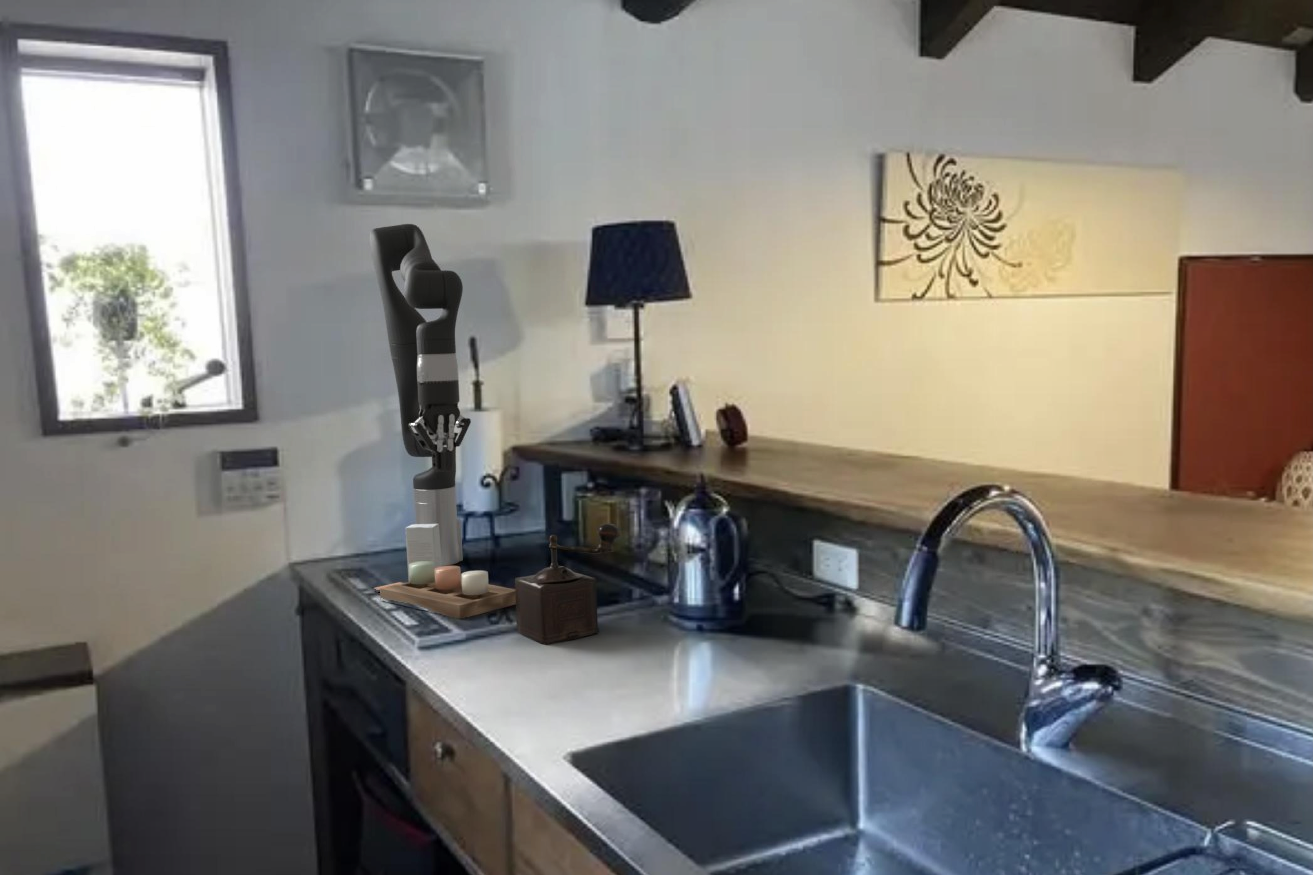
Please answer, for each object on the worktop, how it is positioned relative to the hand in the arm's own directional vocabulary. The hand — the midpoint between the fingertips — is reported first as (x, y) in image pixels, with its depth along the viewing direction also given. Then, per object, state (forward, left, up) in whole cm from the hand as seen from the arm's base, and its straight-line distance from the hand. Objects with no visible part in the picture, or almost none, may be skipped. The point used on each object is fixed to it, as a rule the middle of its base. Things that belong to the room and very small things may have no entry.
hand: (442, 471), depth 198 cm
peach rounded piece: (0, 0, -22) cm, 22 cm away
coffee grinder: (+1, +34, -25) cm, 42 cm away
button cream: (0, +8, -22) cm, 23 cm away
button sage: (0, -8, -22) cm, 23 cm away
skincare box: (-8, -18, -25) cm, 32 cm away
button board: (0, 0, -25) cm, 25 cm away
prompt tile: (0, -17, -25) cm, 30 cm away
